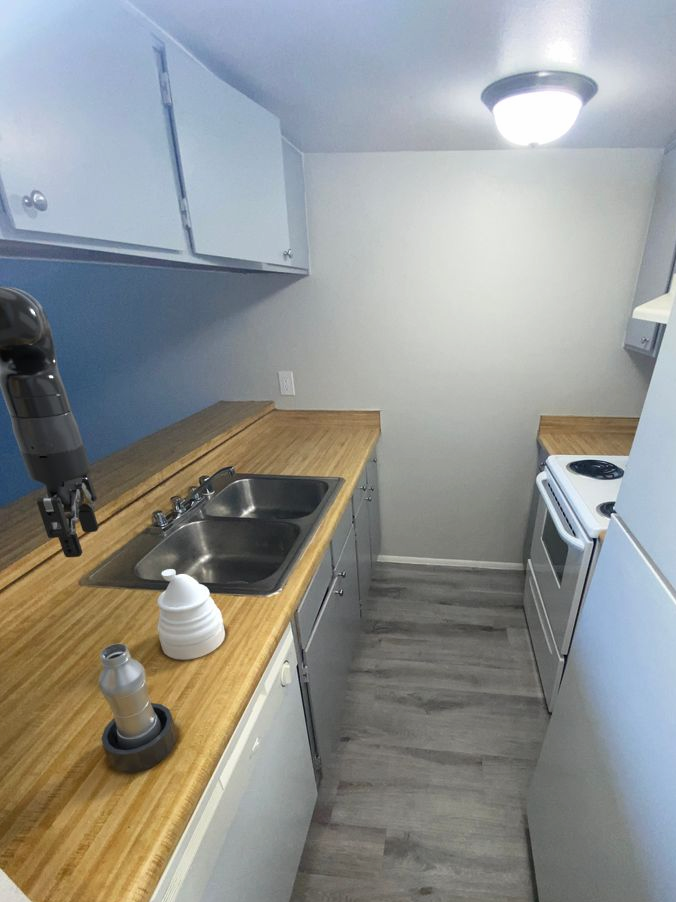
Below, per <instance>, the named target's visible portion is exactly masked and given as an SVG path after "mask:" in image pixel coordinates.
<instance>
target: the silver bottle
mask: <svg viewBox="0 0 676 902" xmlns="http://www.w3.org/2000/svg"><path fill="white" fill-rule="evenodd" d="M99 657H100V660H101V665H102V667H103V668H102V670H101V672H100V673H99V677H98V688H99V690H100V693H101V694H102V696H103V697H104V699H105V700H106V702H107V703H108V705H109V707H110V709H111V712H112V715H113V718H115V722H116V726H117V738H118V742H119V745H120V746H121V747H122V749H123V750H130V749H136V748H139V747H141V746H143V745H145V744H148V743H150V742H151V741H152V740H154V739H155V738H156V737H157V736H159V735H160V734H161V732H162V726H161V722H160V720H159V718H158V716H157V715H156V714H155V712H154V710H153V708H152V705H151V703H152V702H151V699H150V696H149V691H148V685H147V682H148V681H147V673H146V668H145V667H144V666H143V664H141V663H140V662H139V661H138V660H136V659H135V658H133V657H132V656H131V653H130V651H129V649H128V646H127V645H126V644H125V643H113V644H109V645H107V646H106V647H104V648H103V649H102V650H101V651H100V653H99Z"/></svg>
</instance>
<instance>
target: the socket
mask: <svg viewBox="0 0 676 902" xmlns="http://www.w3.org/2000/svg"><path fill="white" fill-rule="evenodd" d="M150 703H151V705H152V708H153V710H154V712H155V714H156V715H157V716H158V718H159V720H160V722H161V726H162V732H161V734H160V735H159V736H157V737H156V738H155V739H154V740H152V741H151V742H150V743H148V744H145V745H143V746H141V747H139V748H136V749H130V750H123V749H122V747H121V746H120V745H119V742H118V738H117V726H116V722H115V717H113V718H112V719H111V720H110V721H109V723H108V724H107V725H106V726H105V728H104V730H103V732H102V735H101V738H100V740H101V744H102V746H103V750H104V752H105V755H106V757H107V760H108V762H109V765H111V767H112V768H113V769H114V770H116V771H118V772H121V773H125V774H126V773H127V774H131V773H133V774H134V773H139V772H143V771H146V770H148V769H150V768H152V767H154V766H156V765H158V764H159V763H161V762H162V761H163V760H164V759H166V757H168V756H169V754H170V753H171V752H172V751H173V749H174V747H175V745H176V743H177V739H178V738H177V737H178V735H177V732H178V731H177V728H176V724H175V721H174V717H173V715H172V713H171V710H170V709H169V708H168V707H167V706H165V705H163V704H162V703H155V702H150Z"/></svg>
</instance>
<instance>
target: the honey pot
mask: <svg viewBox="0 0 676 902" xmlns="http://www.w3.org/2000/svg"><path fill="white" fill-rule="evenodd" d="M161 577H162V578H163V579H164V580H165V581H167V582H169V583H168V585H167V587H166V589H165V590H164V591H163V592H162V593H161V594H159V596H158V598H157V606H158V607H159V609H160V610H159V617H158V623H157V633H158V638H159V642H160V645H161V649H162V652H163V653H164V655H166V656H167V657H169V658H172V659H175V660H181V661H182V660H183V661H185V660H193V659H194V660H195V659H197V658H201V657H204V656H206V655H209V654H210V653H212V652H213V651H215V650H217V648H219V647H220V646H221V645H222V643H223V642H224V641H225V638H226V632H225V626H224V620H223V614H222V612H221V610H220V608H218V606H217V604H216V603H215V600H214V599H213V598H212V597H211V596H210V594H211V593H210V590H209V588H208V587H207V586H205V584H201V583H200V582H199V581H197V580H196V579H195V578H194V577H192V576H190V575H189V574H186V573H179V574H177V572H176V569H173V568H167V569H165V570H162V571H161Z"/></svg>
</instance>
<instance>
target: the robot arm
mask: <svg viewBox="0 0 676 902" xmlns="http://www.w3.org/2000/svg"><path fill="white" fill-rule="evenodd" d="M56 353H57V351H56V346H55V340H54V336H53V332H52V327H51V324H50V321H49V318H48V315H47V313H46V311H45V309H44V307H43V306H42V304H41V303H40V302H39V301H38V300H37V299H36V298H35V297H34V296H33V295H31V294H30V293H28V292H26V291H25V290H23V289H20V288H17V287H14V286H0V390H1V394H2V397H3V400H4V402H5V406H6V408H7V411H8V414H9V417H10V421H11V426H12V431H13V434H14V438H15V440H16V443H17V445H18V448H19V451H20V454H21V457H22V459H23V463H24V466H25V468H26V471H27V474H28V477H29V478H30V479H31V480H32V481H33V482H37V483H40V484H43V485H45V490H46V491H45V492H46V494H45V495H46V496H45V497H39V498H37V499H36V504H37V507H38V510H39V514H40V516H41V520H42V524H43V526H44V529H45V532H46V535H47V538H48V539H55V538H58V540H59V543H60V546H61V549H62V552H63V555H64V557H66V558H67V559H69V558H79V557H81V556H82V554H83V549H82V546H81V543H80V539H79V537H78V533H77V531H76V530H77V529H76V526H77V525H76V521H79V524H80V526H81V530H82V531H83V533H94V532H95V533H96V532H97V531H98V530H99V524H98V520H97V517H96V514H95V510H94V509H95V507H96V505H95V503H94V502H97V499H98V497H97V494H96V491H95V488H94V484H93V481H92V478H91V475H90V470H91V467H90V466H91V465H90V463H89V459H88V455H87V453H86V449H85V445H84V442H83V439H82V435H81V431H80V428H79V425H78V423H77V421H76V418H75V416H74V414H73V411H72V408H71V405H70V401H69V398H68V395H67V390H66V387H65V385H64V382H63V379H62V376H61V373H60V370H59V366H58V359H57V358H58V357H57V354H56Z"/></svg>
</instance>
